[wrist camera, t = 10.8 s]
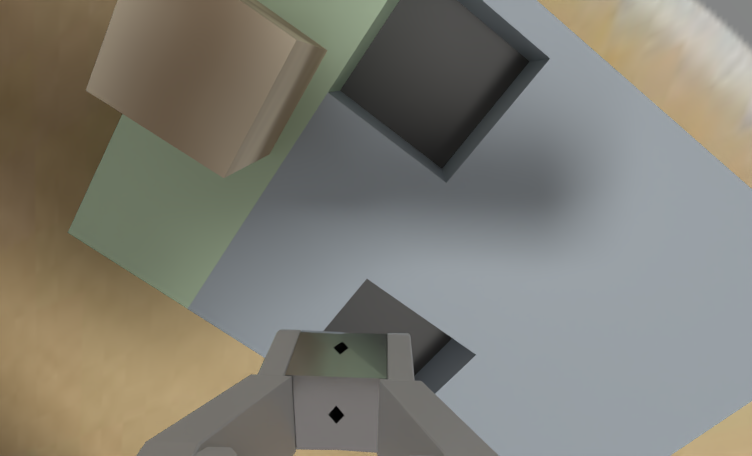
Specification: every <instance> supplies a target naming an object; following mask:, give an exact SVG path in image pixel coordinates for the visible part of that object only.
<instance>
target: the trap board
mask: <svg viewBox="0 0 752 456" xmlns="http://www.w3.org/2000/svg"><path fill="white" fill-rule="evenodd" d="M188 309H189V310H190V311H192V312H193V313H195V314H197V315H198V316H200V317H201V318H203V319H204V320H206V321H208V322H209V323H211V324H212V325H214V326H215V327H217V328H219V329H220V330H222V331H223V332H225V333H226V334H228V335H230V336H231V337H233V338H234V339H236V340H237V341H239V342H241V343H242V344H244V345H245V346H247V347H248V348H250V349H252V350H253V351H255V352H256V353H258V354H259V355H261V356H263V357H264V358H265V357H266V355H267V353H268V350H269V348H270V346H271V344H272V342H273V340H274V337H275V335H276V333H277V332H278V331H279V330H280V329H290V330H301V331H302V330H311V331H329V332H345V333H379V334H388V333H409V334H410V337H411V347H412V358H413V368H414V379H415V381H422V382H423V383H424V384H425V385H426V386H427V387H428V388H429V389H430V390H431V391H432V392H433V393H434V394H435V395H436V396H438V397H439V398H440V399H441V400H442V401H443V402H444V403H445V404H446V405H447V406H448V407H449V408H450V409H451V410H452V411H453V412H454V413H455V414H456V415H457V416H458V417H459V418H460V419H461V420H462V421H463V422H465V423H466V424H467V425H468V426H469V427H470V428H471V429H472V430H473V431H474V432H475V433H476V434H477V435H478V436H479V437H480V438H481V439H482V440H483V441H484V442H485V443H486V444H487V445H488V446H489V447H490V448H491V449H493V450H494V451H495V452H496V453H497V454H498V455H499V456H670V455H672V454H673V453H675V452H676V451H678V450H679V449H681V448H682V447H684V446H685V445H687V444H688V443H690V442H691V441H693V440H694V439H696V438H697V437H699V436H700V435H702V434H703V433H705V432H706V431H708V430H709V429H711V428H712V427H714V426H715V425H717V424H718V423H720V422H721V421H722V420H724V419H725V418H727V417H728V416H730V415H731V414H733V413H734V412H736V411H737V410H739V409H740V408H742V407H743V406H745V405H746V404H748V403H749V402H751V401H752V189H751V188H750V187H749V186H748V185H746V184H745V183H744V182H743V181H742V180H741V179H740V178H738V177H737V176H736V175H735V174H734V173H733V172H732V171H731V170H729V169H728V168H727V167H726V166H725V165H724V164H723V163H721V162H720V161H719V160H718V159H717V158H716V157H715V156H713V155H712V154H711V153H710V152H709V151H708V150H707V149H705V148H704V147H703V146H702V145H701V144H700V143H699V142H697V141H696V140H695V139H694V138H693V137H692V136H691V135H689V134H688V133H687V132H686V131H685V130H684V129H683V128H682V127H680V126H679V125H678V124H677V123H676V122H675V121H674V120H672V119H671V118H670V117H669V116H668V115H667V114H666V113H664V112H663V111H662V110H661V109H660V108H659V107H658V106H656V105H655V104H654V103H653V102H652V101H651V100H650V99H648V98H647V97H646V96H645V95H644V94H643V93H642V92H641V91H639V90H638V89H637V88H636V87H635V86H634V85H633V84H631V83H630V82H629V81H628V80H627V79H626V78H625V77H623V76H622V75H621V74H620V73H619V72H618V71H617V70H615V69H614V68H613V67H612V66H611V65H610V64H609V63H607V62H606V61H605V60H604V59H603V58H602V57H601V56H599V55H598V54H597V53H596V52H595V51H594V50H593V49H592V48H590V47H589V46H588V45H587V44H586V43H585V42H584V41H582V40H581V39H580V38H579V37H578V36H577V35H576V34H574V33H573V32H572V31H571V30H570V29H569V28H568V27H566V26H565V25H564V24H563V23H562V22H561V21H560V20H558V19H557V18H556V17H555V16H554V15H553V14H552V13H551V12H549V11H548V10H547V9H546V8H545V7H544V6H543V5H541V4H540V3H539V2H538V1H537V0H399V2H398V3H397V5H396V6H395V8H394V9H393V11H392V12H391V14H390V16H389V17H388V19H387V20H386V22H385V23H384V25H383V26H382V28H381V29H380V31H379V32H378V34H377V35H376V37H375V38H374V40H373V41H372V43H371V44H370V46H369V47H368V49H367V50H366V52H365V53H364V55H363V57H362V58H361V60H360V61H359V63H358V64H357V66H356V67H355V69H354V70H353V72H352V73H351V75H350V76H349V78H348V79H347V81H346V82H345V84H344V85H343V87H342V88H341V90H340V91H334V92H328V93H327V94H326V96H325V98H324V99H323V101H322V102H321V104H320V105H319V107H318V108H317V110H316V111H315V113H314V115H313V116H312V118H311V119H310V121H309V122H308V124H307V125H306V127H305V128H304V130H303V132H302V133H301V135H300V136H299V138H298V139H297V141H296V142H295V144H294V145H293V147H292V148H291V150H290V152H289V153H288V155H287V156H286V158H285V159H284V161H283V162H282V164H281V165H280V167H279V169H278V170H277V172H276V173H275V175H274V176H273V178H272V179H271V181H270V182H269V184H268V186H267V187H266V189H265V190H264V192H263V193H262V195H261V196H260V198H259V199H258V201H257V202H256V204H255V206H254V207H253V209H252V210H251V212H250V213H249V215H248V216H247V218H246V219H245V221H244V223H243V224H242V226H241V227H240V229H239V230H238V232H237V233H236V235H235V236H234V238H233V240H232V241H231V243H230V244H229V246H228V247H227V249H226V250H225V252H224V253H223V255H222V256H221V258H220V260H219V261H218V263H217V264H216V266H215V267H214V269H213V270H212V272H211V273H210V275H209V277H208V278H207V280H206V281H205V283H204V284H203V286H202V287H201V289H200V290H199V292H198V294H197V295H196V297H195V298H194V300H193V301H192V303H191V304H190V306H189V307H188Z"/></svg>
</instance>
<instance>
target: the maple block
mask: <svg viewBox="0 0 752 456" xmlns="http://www.w3.org/2000/svg"><path fill="white" fill-rule="evenodd" d="M326 52H327V50H326V49H325V48H324V47H322V46H321V45H319V44H318V43H317V42H315V41H314V40H312V39H311V38H309V37H308V36H307V35H305V34H304V33H302V32H301V31H300V30H298V29H297V28H295V27H294V26H293V25H291V24H290V23H288V22H287V21H285V20H284V19H283V18H281V17H280V16H278V15H277V14H276V13H274V12H273V11H271V10H270V9H268V8H267V7H266V6H264V5H263V4H261V3H260V2H259V1H257V0H117V3H116V6H115V9H114V12H113V15H112V17H111V20H110V23H109V26H108V29H107V32H106V34H105V37H104V40H103V43H102V46H101V49H100V51H99V54H98V57H97V60H96V63H95V66H94V68H93V71H92V74H91V77H90V80H89V83H88V85H87V88H86V91H87V92H89V93H91V94H92V95H94V96H95V97H97V98H98V99H100V100H102V101H103V102H105V103H106V104H108V105H109V106H111V107H113V108H114V109H116V110H117V111H119V112H120V113H122V114H124V115H125V116H127V117H128V118H130V119H131V120H133V121H135V122H136V123H138V124H139V125H141V126H142V127H144V128H146V129H147V130H149V131H150V132H152V133H153V134H155V135H156V136H158V137H160V138H161V139H163V140H164V141H166V142H167V143H169V144H171V145H172V146H174V147H175V148H177V149H178V150H180V151H182V152H183V153H185V154H186V155H188V156H189V157H191V158H193V159H194V160H196V161H197V162H199V163H200V164H202V165H204V166H205V167H207V168H208V169H210V170H211V171H213V172H215V173H216V174H218V175H219V176H221V177H222V178H225V177H227V176H229V175H231V174H233V173H235V172H237V171H239V170H241V169H242V168H244V167H246V166H248V165H250V164H252V163H254V162H256V161H258V160H260V159H262V158H264V157H265V156H267V155H269V154H270V152H271V151H272V149H273V147H274V145H275V143H276V142H277V140H278V138H279V136H280V135H281V133H282V131H283V129H284V127H285V126H286V124H287V122H288V120H289V118H290V117H291V115H292V113H293V111H294V109H295V108H296V106H297V104H298V102H299V101H300V99H301V97H302V95H303V93H304V92H305V90H306V88H307V86H308V84H309V83H310V81H311V79H312V77H313V75H314V74H315V72H316V70H317V68H318V67H319V65H320V63H321V61H322V59H323V58H324V56H325V54H326Z"/></svg>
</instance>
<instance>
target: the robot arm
mask: <svg viewBox="0 0 752 456" xmlns="http://www.w3.org/2000/svg"><path fill="white" fill-rule="evenodd" d="M296 449H310V450H347V451H361V452H376V453H377V455H378V456H499V455H498V454H497V453H496V452H495V451H494V450H493V449H491V448H490V447H489V446H488V445H487V444H486V443H485V442H484V441H483V440H482V439H481V438H480V437H479V436H478V435H477V434H476V433H475V432H474V431H473V430H472V429H471V428H470V427H469V426H468V425H467V424H466V423H465V422H463V421H462V420H461V419H460V418H459V417H458V416H457V415H456V414H455V413H454V412H453V411H452V410H451V409H450V408H449V407H448V406H447V405H446V404H445V403H444V402H443V401H442V400H441V399H440V398H439V397H438V396H436V395H435V394H434V393H433V392H432V391H431V390H430V389H429V388H428V387H427V386H426V385H425V384H424V383H423V382H422V381H415V379H414V368H413V358H412V347H411V337H410V334H409V333H388V334H379V333H345V332H329V331H311V330H302V331H301V330H290V329H280V330H279V331H278V332H277V333H276V335H275V337H274V340H273V342H272V344H271V346H270V348H269V350H268V353H267V355H266V357H265V359H264V361H263V364H262V366H261V368H260V370H259V372H258V375H249V376H248V377H246V378H245V379H243V380H242V381H240V382H239V383H237V384H235V385H234V386H232V387H231V388H229V389H228V390H226V391H224V392H223V393H221V394H220V395H218V396H217V397H215V398H214V399H212V400H210V401H209V402H207V403H206V404H204V405H203V406H201V407H200V408H198V409H196V410H195V411H193V412H192V413H190V414H189V415H187V416H185V417H184V418H182V419H181V420H179V421H178V422H176V423H175V424H173V425H171V426H170V427H168V428H167V429H165V430H164V431H162V432H161V433H159V434H157V435H156V436H154V437H153V438H151V439H150V440H148V441H146V442H145V444H144V445H143V447H142V448H141V450H140V451H139V453H138V454H137V456H292V455H293V454H294V453H295V452H296Z"/></svg>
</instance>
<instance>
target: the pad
mask: <svg viewBox="0 0 752 456" xmlns="http://www.w3.org/2000/svg"><path fill="white" fill-rule="evenodd" d="M257 1H259V2H260V3H261V4H263V5H264V6H266V7H267V8H268V9H270V10H271V11H273V12H274V13H276V14H277V15H278V16H280V17H281V18H283V19H284V20H285V21H287V22H288V23H290V24H291V25H293V26H294V27H295V28H297V29H298V30H300V31H301V32H302V33H304V34H305V35H307V36H308V37H309V38H311V39H312V40H314V41H315V42H317V43H318V44H319V45H321V46H322V47H324V48H325V49H326V50H327V52H326V54H325V56H324V58H323V59H322V61H321V63H320V65H319V67H318V68H317V70H316V72H315V74H314V75H313V77H312V79H311V81H310V83H309V84H308V86H307V88H306V90H305V92H304V93H303V95H302V97H301V99H300V101H299V102H298V104H297V106H296V108H295V109H294V111H293V113H292V115H291V117H290V118H289V120H288V122H287V124H286V126H285V127H284V129H283V131H282V133H281V135H280V136H279V138H278V140H277V142H276V143H275V145H274V147H273V149H272V151H271V152H270V154H269V155H267V156H265V157H264V158H262V159H260V160H258V161H256V162H254V163H252V164H250V165H248V166H246V167H244V168H242V169H241V170H239V171H237V172H235V173H233V174H231V175H229V176H227V177H225V178H222V177H221V176H219V175H218V174H216V173H215V172H213V171H211V170H210V169H208V168H207V167H205V166H204V165H202V164H200V163H199V162H197V161H196V160H194V159H193V158H191V157H189V156H188V155H186V154H185V153H183V152H182V151H180V150H178V149H177V148H175V147H174V146H172V145H171V144H169V143H167V142H166V141H164V140H163V139H161V138H160V137H158V136H156V135H155V134H153V133H152V132H150V131H149V130H147V129H146V128H144V127H142V126H141V125H139V124H138V123H136V122H135V121H133V120H131V119H130V118H128V117H127V116H125V115H124V114H122V116H121V118H120V120H119V123H118V125H117V127H116V129H115V131H114V133H113V136H112V138H111V140H110V142H109V144H108V146H107V149H106V151H105V153H104V155H103V157H102V159H101V162H100V164H99V166H98V168H97V170H96V172H95V175H94V177H93V179H92V181H91V183H90V185H89V188H88V190H87V192H86V194H85V196H84V198H83V201H82V203H81V205H80V207H79V209H78V211H77V214H76V216H75V218H74V220H73V222H72V224H71V227H70V229H69V231H68V233H69V234H71V235H72V236H74V237H75V238H77V239H79V240H80V241H82V242H83V243H85V244H86V245H88V246H90V247H91V248H93V249H94V250H96V251H97V252H99V253H101V254H102V255H104V256H105V257H107V258H109V259H110V260H112V261H113V262H115V263H116V264H118V265H120V266H121V267H123V268H124V269H126V270H127V271H129V272H131V273H132V274H134V275H135V276H137V277H138V278H140V279H142V280H143V281H145V282H146V283H148V284H149V285H151V286H153V287H154V288H156V289H157V290H159V291H160V292H162V293H164V294H165V295H167V296H168V297H170V298H171V299H173V300H175V301H176V302H178V303H179V304H181V305H182V306H184V307H186V308H187V309H188V307H189V306H190V304H191V303H192V301H193V300H194V298H195V297H196V295H197V294H198V292H199V290H200V289H201V287H202V286H203V284H204V283H205V281H206V280H207V278H208V277H209V275H210V273H211V272H212V270H213V269H214V267H215V266H216V264H217V263H218V261H219V260H220V258H221V256H222V255H223V253H224V252H225V250H226V249H227V247H228V246H229V244H230V243H231V241H232V240H233V238H234V236H235V235H236V233H237V232H238V230H239V229H240V227H241V226H242V224H243V223H244V221H245V219H246V218H247V216H248V215H249V213H250V212H251V210H252V209H253V207H254V206H255V204H256V202H257V201H258V199H259V198H260V196H261V195H262V193H263V192H264V190H265V189H266V187H267V186H268V184H269V182H270V181H271V179H272V178H273V176H274V175H275V173H276V172H277V170H278V169H279V167H280V165H281V164H282V162H283V161H284V159H285V158H286V156H287V155H288V153H289V152H290V150H291V148H292V147H293V145H294V144H295V142H296V141H297V139H298V138H299V136H300V135H301V133H302V132H303V130H304V128H305V127H306V125H307V124H308V122H309V121H310V119H311V118H312V116H313V115H314V113H315V111H316V110H317V108H318V107H319V105H320V104H321V102H322V101H323V99H324V98H325V96H326V94H327V93H328V92H334V91H340V90H341V88H342V87H343V85H344V84H345V82H346V81H347V79H348V78H349V76H350V75H351V73H352V72H353V70H354V69H355V67H356V66H357V64H358V63H359V61H360V60H361V58H362V57H363V55H364V53H365V52H366V50H367V49H368V47H369V46H370V44H371V43H372V41H373V40H374V38H375V37H376V35H377V34H378V32H379V31H380V29H381V28H382V26H383V25H384V23H385V22H386V20H387V19H388V17H389V16H390V14H391V12H392V11H393V9H394V8H395V6H396V5H397V3H398V2H399V0H257Z"/></svg>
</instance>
